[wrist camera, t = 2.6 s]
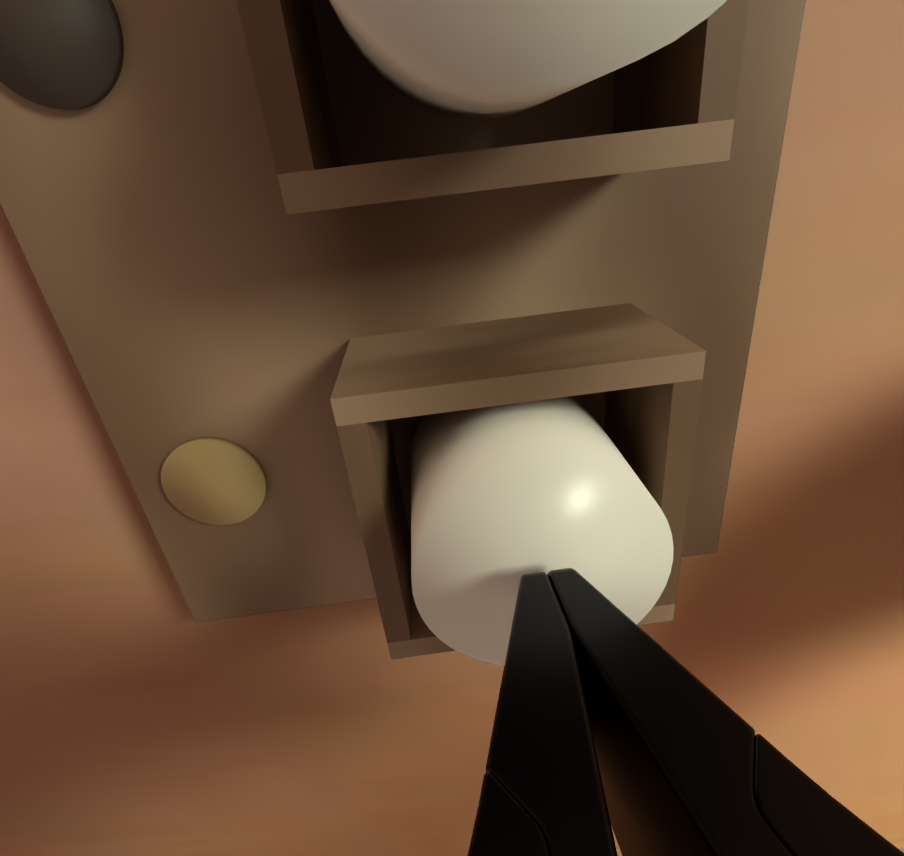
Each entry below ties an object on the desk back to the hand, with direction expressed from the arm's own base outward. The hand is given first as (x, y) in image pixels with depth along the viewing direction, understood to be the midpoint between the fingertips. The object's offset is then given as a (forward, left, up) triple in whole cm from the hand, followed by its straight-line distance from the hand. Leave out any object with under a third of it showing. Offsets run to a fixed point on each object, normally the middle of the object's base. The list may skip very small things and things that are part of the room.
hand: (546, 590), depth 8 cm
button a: (0, 0, -4) cm, 4 cm away
